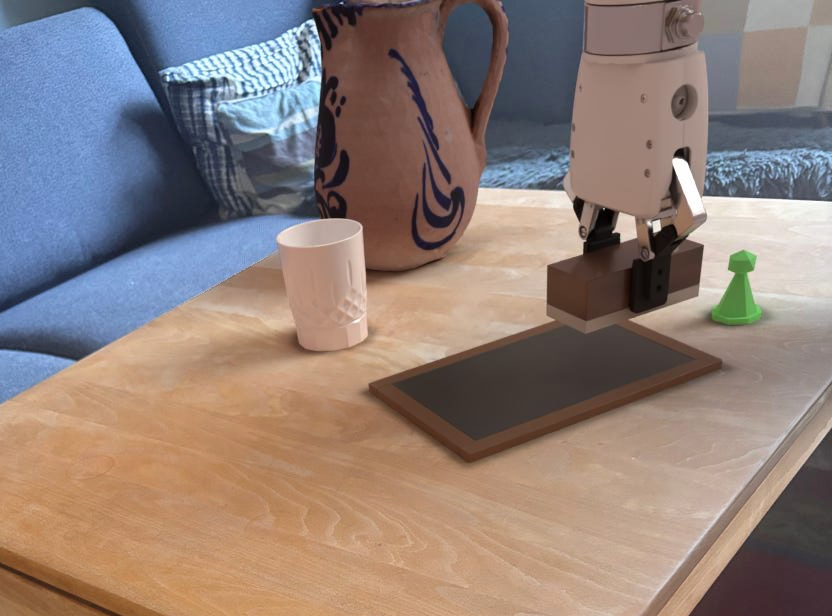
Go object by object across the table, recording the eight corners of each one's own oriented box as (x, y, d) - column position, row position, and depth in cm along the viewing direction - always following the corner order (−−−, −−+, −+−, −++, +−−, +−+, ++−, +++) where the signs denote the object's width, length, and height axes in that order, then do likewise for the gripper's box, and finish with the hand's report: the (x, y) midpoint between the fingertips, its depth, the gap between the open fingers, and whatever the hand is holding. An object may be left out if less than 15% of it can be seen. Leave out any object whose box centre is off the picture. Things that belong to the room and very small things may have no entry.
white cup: (327, 363, 89) (310, 252, 83) (277, 343, 94) (258, 238, 88) (391, 334, 93) (380, 226, 86) (339, 317, 98) (326, 213, 91)
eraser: (655, 280, 80) (660, 230, 78) (698, 296, 77) (704, 244, 74) (545, 315, 77) (546, 264, 74) (585, 334, 73) (587, 281, 71)
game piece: (753, 330, 84) (763, 260, 80) (702, 325, 86) (710, 256, 82) (767, 312, 86) (778, 242, 82) (718, 307, 88) (726, 239, 85)
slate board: (596, 316, 90) (596, 306, 89) (721, 371, 78) (723, 359, 78) (369, 393, 83) (367, 382, 83) (470, 466, 72) (469, 454, 71)
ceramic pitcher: (309, 253, 115) (273, 3, 99) (477, 217, 118) (467, -31, 102) (347, 299, 101) (312, 18, 86) (535, 257, 104) (535, -21, 88)
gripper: (781, 27, 60) (740, 315, 71) (604, 12, 72) (593, 260, 84) (685, 49, 58) (659, 343, 69) (520, 30, 70) (520, 282, 81)
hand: (623, 295), depth 76 cm, fingers closed on eraser, 5 cm apart
